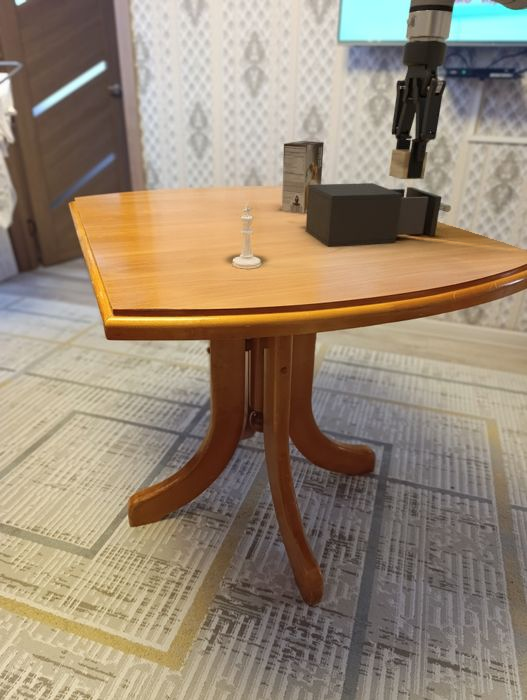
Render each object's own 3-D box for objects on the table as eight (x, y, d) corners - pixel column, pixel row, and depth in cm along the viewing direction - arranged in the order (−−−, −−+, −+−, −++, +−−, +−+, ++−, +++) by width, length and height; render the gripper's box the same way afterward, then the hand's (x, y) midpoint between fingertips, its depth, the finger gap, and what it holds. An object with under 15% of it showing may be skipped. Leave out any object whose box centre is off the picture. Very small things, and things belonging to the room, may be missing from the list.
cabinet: (367, 228, 113) (372, 183, 108) (395, 243, 102) (402, 193, 98) (305, 231, 109) (308, 184, 105) (327, 246, 98) (332, 195, 94)
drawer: (423, 222, 115) (429, 186, 112) (452, 234, 105) (460, 196, 102) (351, 225, 111) (355, 188, 107) (375, 238, 101) (380, 198, 97)
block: (410, 175, 106) (414, 149, 103) (423, 178, 101) (427, 152, 99) (388, 175, 104) (392, 149, 102) (401, 179, 100) (405, 152, 98)
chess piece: (226, 264, 87) (225, 204, 82) (246, 258, 90) (246, 200, 86) (247, 270, 84) (247, 209, 80) (266, 264, 87) (268, 205, 83)
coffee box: (297, 207, 131) (300, 140, 124) (320, 210, 129) (324, 142, 121) (280, 213, 124) (283, 142, 117) (304, 216, 121) (308, 144, 114)
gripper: (383, 43, 99) (369, 169, 109) (436, 36, 83) (413, 183, 94) (417, 45, 101) (400, 169, 111) (475, 38, 85) (448, 182, 96)
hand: (406, 175), depth 103 cm, fingers closed on block, 5 cm apart
